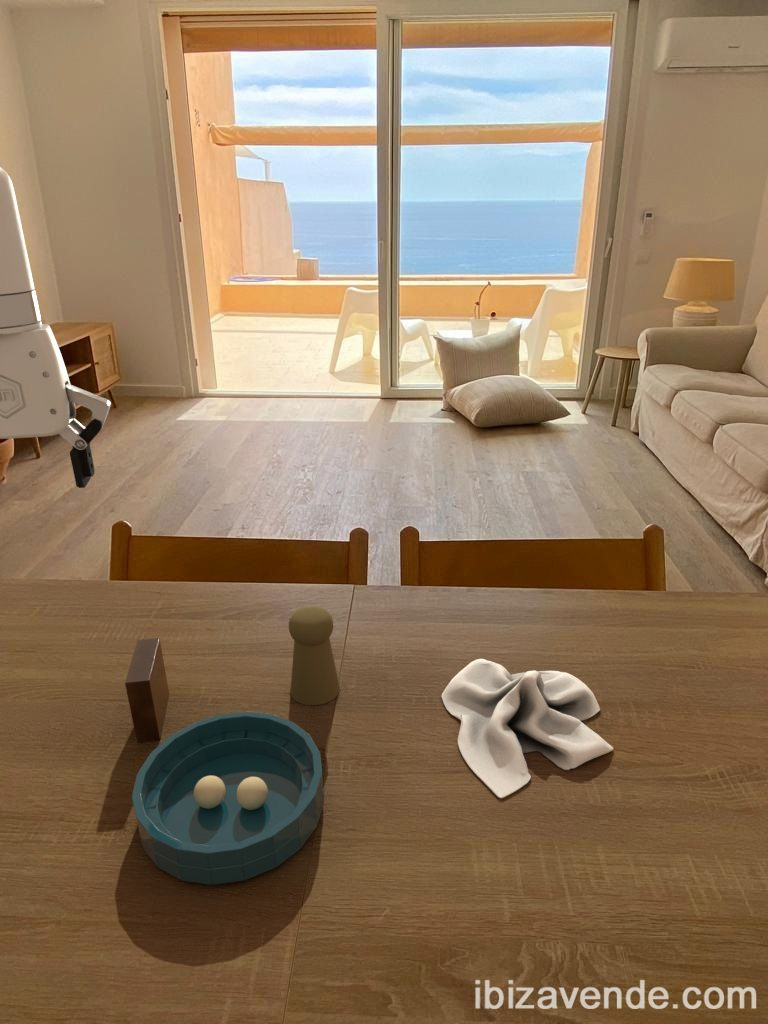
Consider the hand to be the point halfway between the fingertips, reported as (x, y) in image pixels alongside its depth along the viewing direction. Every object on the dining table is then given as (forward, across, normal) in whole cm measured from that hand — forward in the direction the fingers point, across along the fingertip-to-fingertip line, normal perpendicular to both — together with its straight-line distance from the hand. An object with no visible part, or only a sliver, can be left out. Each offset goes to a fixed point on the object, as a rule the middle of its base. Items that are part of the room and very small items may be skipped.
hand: (34, 486), depth 71 cm
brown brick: (+28, +8, -3) cm, 30 cm away
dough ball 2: (+26, +20, -18) cm, 38 cm away
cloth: (+28, +50, -11) cm, 59 cm away
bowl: (+28, +18, -18) cm, 38 cm away
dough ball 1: (+26, +16, -18) cm, 35 cm away
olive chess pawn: (+28, +27, -1) cm, 39 cm away
